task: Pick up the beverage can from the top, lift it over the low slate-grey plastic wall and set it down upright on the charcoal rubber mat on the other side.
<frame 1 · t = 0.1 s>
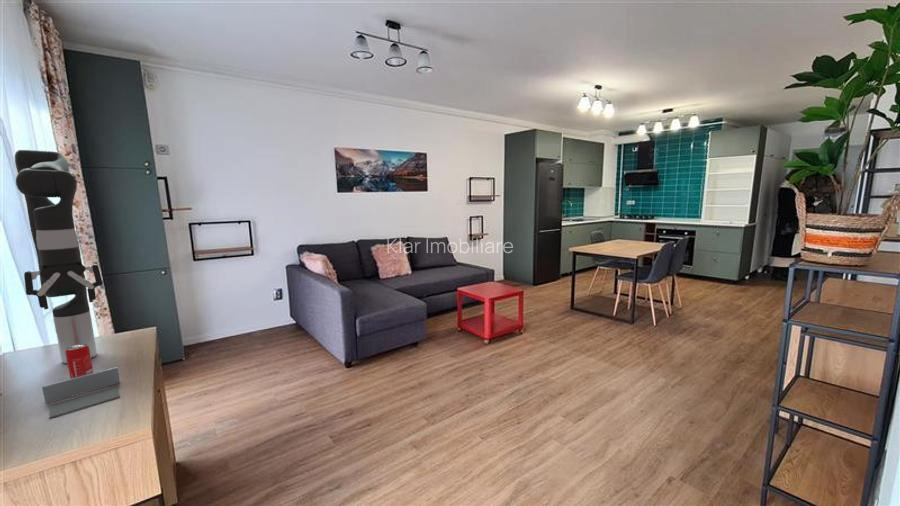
hand: (69, 305, 99), 29 cm above the table, tool pointing down, fingers open, 8 cm apart
beverage can: (83, 382, 116), on the table
low wall: (84, 391, 110), on the table
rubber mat: (85, 401, 105), on the table
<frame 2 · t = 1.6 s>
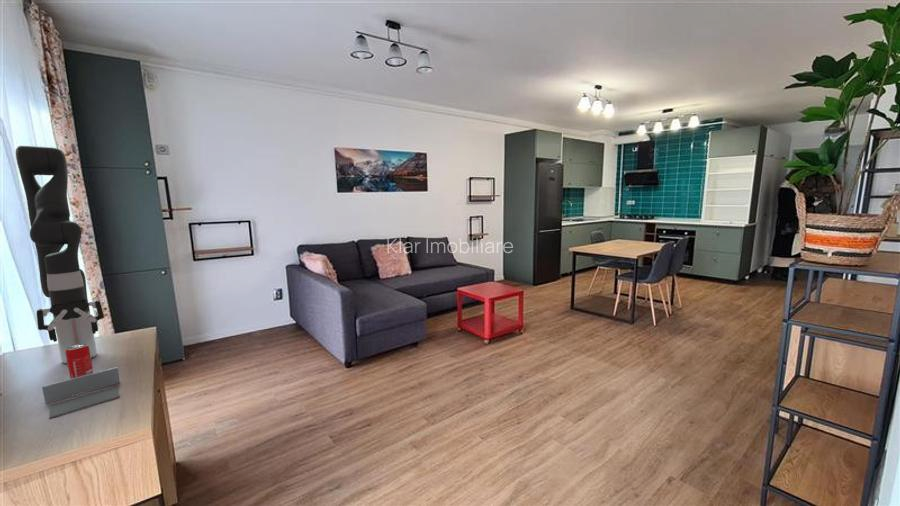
hand: (75, 337, 114), 15 cm above the table, tool pointing down, fingers open, 8 cm apart
nothing on the table moved.
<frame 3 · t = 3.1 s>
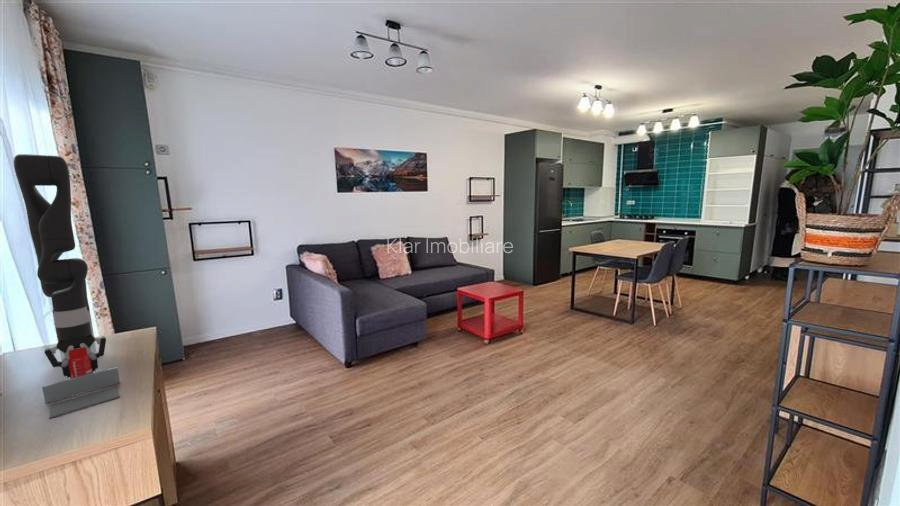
hand: (81, 373, 116), 3 cm above the table, tool pointing down, fingers closed on beverage can, 5 cm apart
beverage can: (83, 382, 116), on the table, touching gripper
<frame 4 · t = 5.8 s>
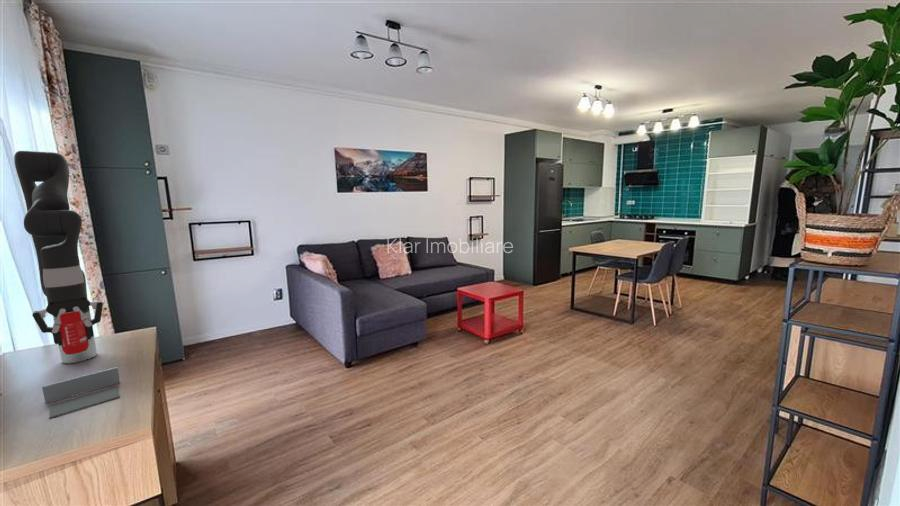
hand: (75, 341, 103), 18 cm above the table, tool pointing down, fingers closed on beverage can, 5 cm apart
beverage can: (76, 352, 103), point 15 cm above the table, touching gripper
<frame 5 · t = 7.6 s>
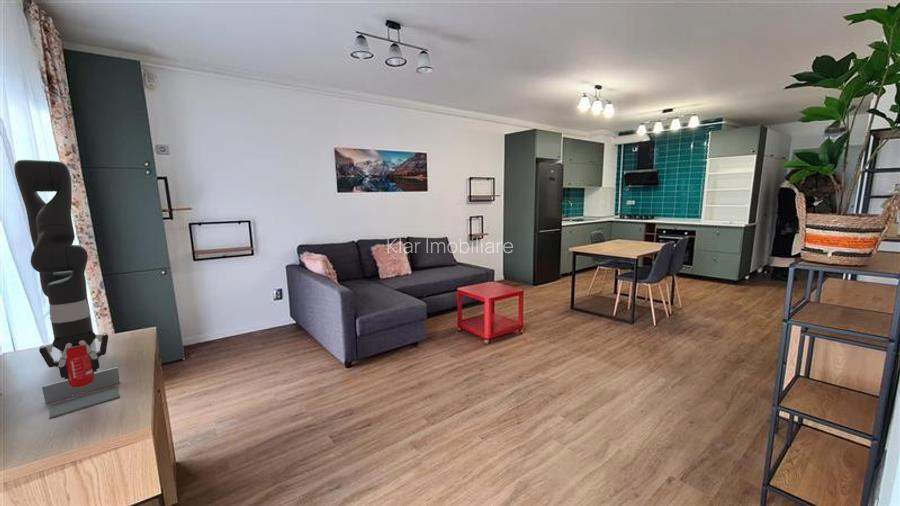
hand: (80, 374, 104), 8 cm above the table, tool pointing down, fingers closed on beverage can, 5 cm apart
beverage can: (82, 384, 104), point 5 cm above the table, touching gripper
when the fingers open (5 cm above the table, at t = 8.8 s): beverage can drops 1 cm, resting on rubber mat.
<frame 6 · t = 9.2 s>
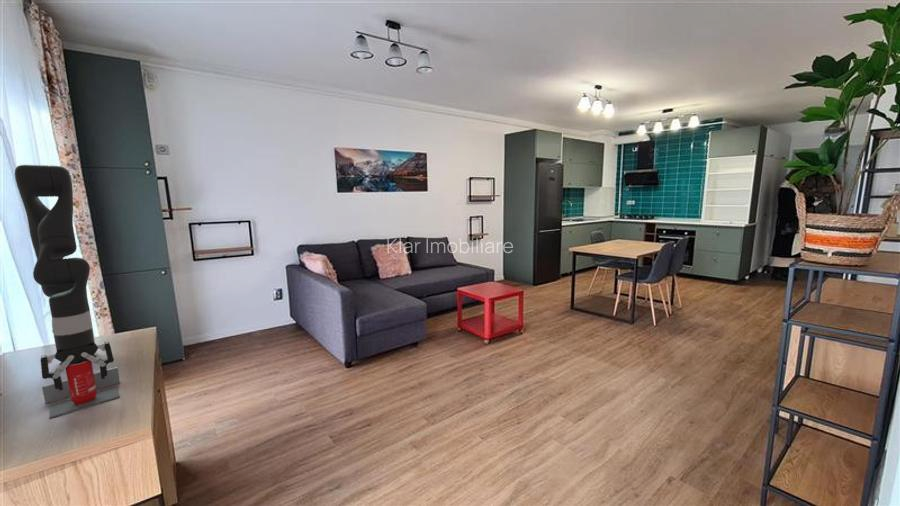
hand: (82, 383, 104), 6 cm above the table, tool pointing down, fingers open, 8 cm apart
beverage can: (85, 400, 105), resting on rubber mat
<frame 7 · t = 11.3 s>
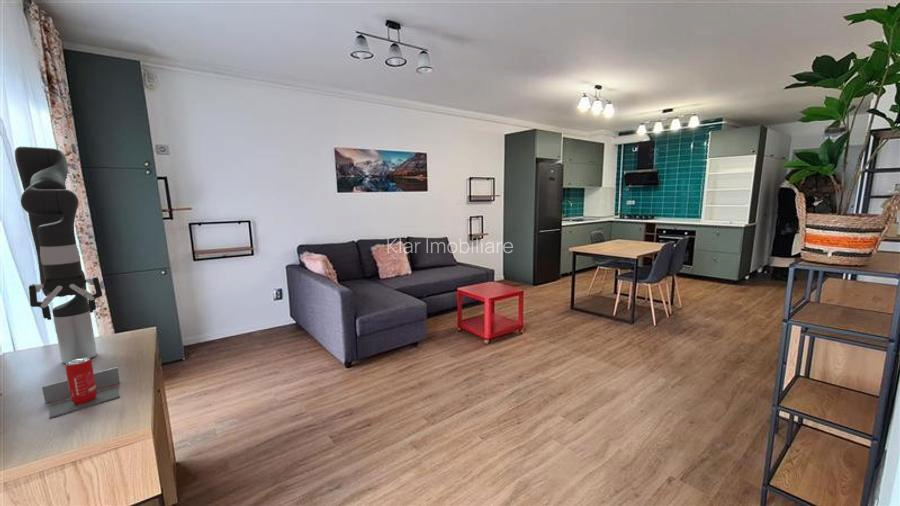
hand: (71, 315, 106), 24 cm above the table, tool pointing down, fingers open, 8 cm apart
nothing on the table moved.
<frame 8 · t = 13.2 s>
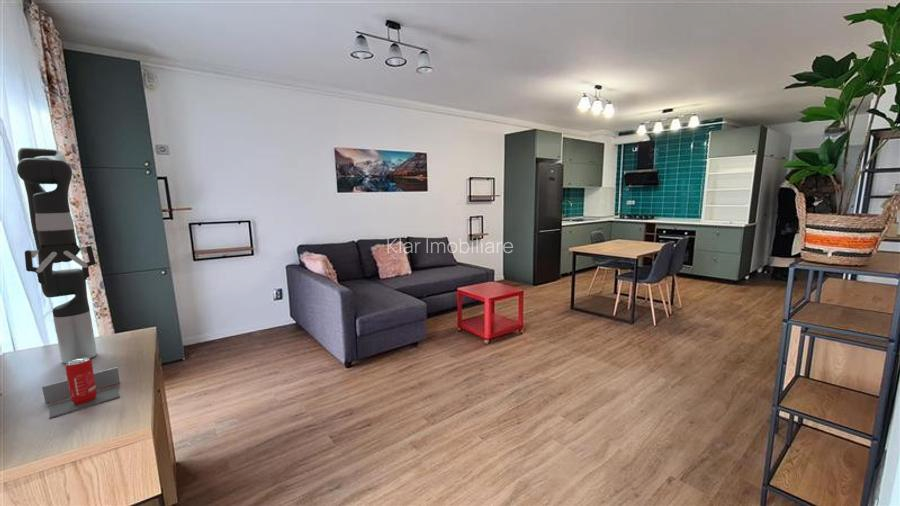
hand: (65, 281, 110), 33 cm above the table, tool pointing down, fingers open, 8 cm apart
nothing on the table moved.
at the end: beverage can 0.1 cm off-centre on the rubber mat, point 0.2 cm above the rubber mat's base; beverage can tilted 0°; the gripper is holding nothing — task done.
